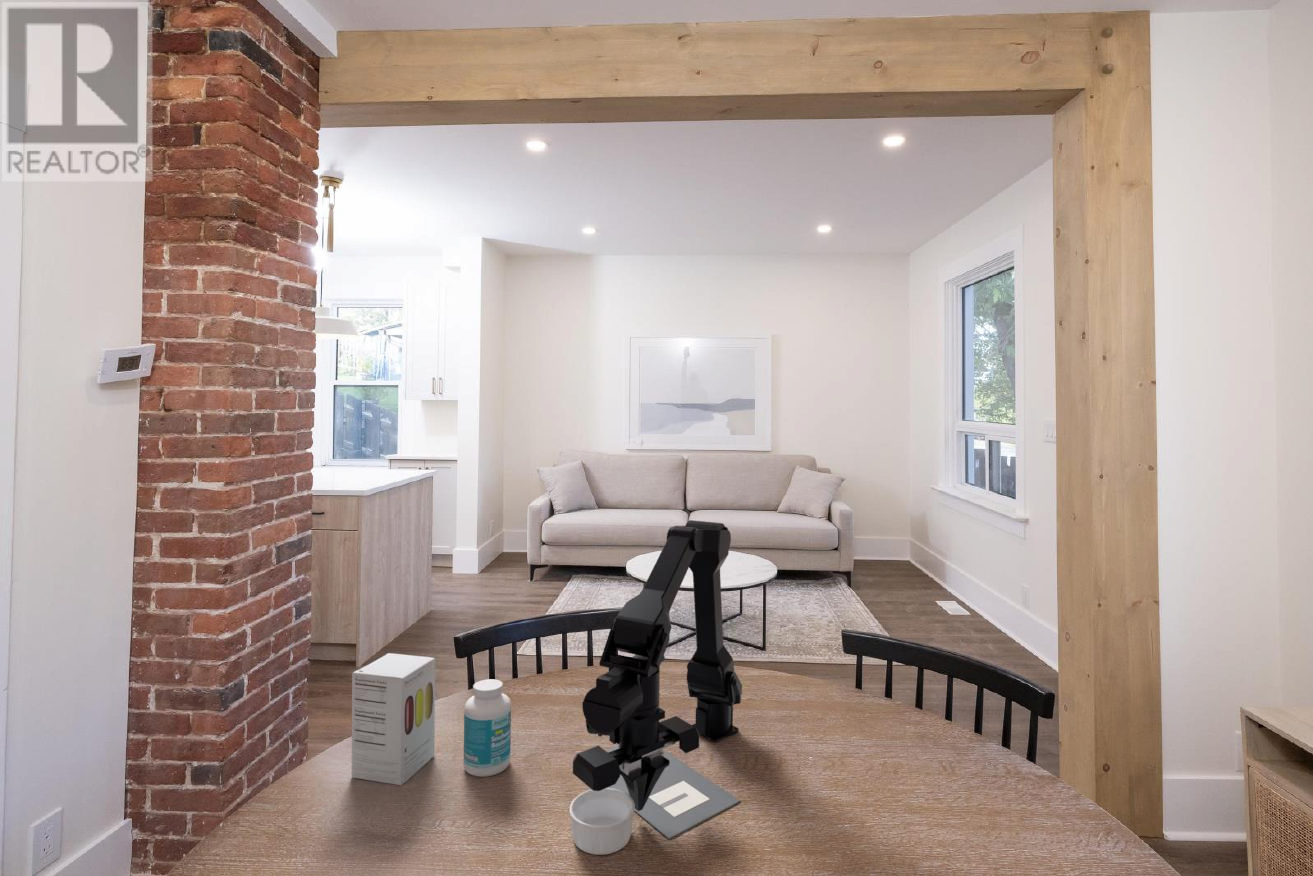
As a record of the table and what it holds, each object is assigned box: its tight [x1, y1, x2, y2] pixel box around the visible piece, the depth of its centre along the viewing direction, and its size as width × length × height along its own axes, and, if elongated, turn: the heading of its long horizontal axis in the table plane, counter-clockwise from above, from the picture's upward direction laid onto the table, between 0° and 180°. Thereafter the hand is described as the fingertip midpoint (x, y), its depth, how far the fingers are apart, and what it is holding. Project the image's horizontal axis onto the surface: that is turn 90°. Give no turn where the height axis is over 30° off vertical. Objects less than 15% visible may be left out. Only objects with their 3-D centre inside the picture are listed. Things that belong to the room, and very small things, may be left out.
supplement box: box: [351, 652, 436, 786], centre depth 102 cm, size 10×9×17 cm
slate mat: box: [605, 745, 742, 840], centre depth 99 cm, size 14×24×1 cm, turn 39°
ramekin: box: [569, 788, 635, 856], centre depth 86 cm, size 9×9×4 cm
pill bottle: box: [463, 678, 512, 778], centre depth 103 cm, size 8×7×14 cm
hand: (638, 809), depth 90 cm, fingers closed
